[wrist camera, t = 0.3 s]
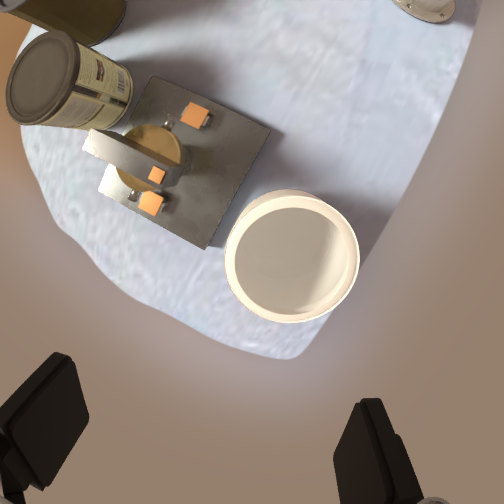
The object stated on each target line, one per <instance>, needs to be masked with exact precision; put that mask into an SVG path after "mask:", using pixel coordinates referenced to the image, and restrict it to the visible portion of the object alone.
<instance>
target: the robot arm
mask: <svg viewBox="0 0 504 504" xmlns="http://www.w3.org/2000/svg"><path fill="white" fill-rule="evenodd" d="M392 1H393V2H394V3H395V4H397V5H398V6H399V7H400V8H401V9H403V10H404V11H406V12H407V13H409V14H410V15H412V16H414V17H416V18H418V19H421V20H424V21H427V22H433V23H439V22H443V21H446V20H447V19H449V18H450V17H451V16H452V15H453V13H454V11H455V1H454V0H392ZM88 422H89V413H88V410H87V406H86V403H85V400H84V397H83V393H82V389H81V385H80V382H79V378H78V374H77V370H76V366H75V363H74V362H73V361H72V359H71V357H69V356H67V355H64V354H61V353H58V352H54V353H53V354H52V355H51V356H50V357H49V358H48V359H47V360H46V361H45V362H44V363H43V364H42V365H41V366H40V367H39V368H38V369H37V370H36V371H35V372H34V373H33V374H32V375H31V376H30V377H29V378H28V379H27V380H26V381H25V382H24V383H23V384H22V385H21V386H20V387H19V388H18V389H17V390H16V391H15V392H14V393H13V394H12V395H11V396H10V398H9V399H8V400H7V401H6V402H5V403H4V404H3V405H2V406H1V407H0V504H31V503H30V499H29V495H28V490H27V488H28V486H29V485H32V486H33V487H35V488H37V489H39V490H41V491H43V490H44V488H45V487H46V486H49V485H50V484H51V483H52V481H53V480H54V478H55V476H56V475H57V473H58V471H59V469H60V468H61V466H62V464H63V463H64V461H65V460H66V458H67V456H68V455H69V453H70V451H71V450H72V448H73V446H74V445H75V443H76V442H77V440H78V438H79V437H80V435H81V434H82V432H83V430H84V429H85V427H86V425H87V424H88ZM333 462H334V468H335V473H336V480H337V485H338V492H339V497H340V504H450V503H449V502H447V501H446V500H444V499H442V498H439V497H428V498H425V499H424V496H423V493H422V491H421V488H420V485H419V483H418V480H417V477H416V475H415V472H414V469H413V467H412V464H411V462H410V459H409V457H408V454H407V451H406V449H405V446H404V444H403V442H402V439H401V437H400V436H399V435H398V434H395V432H394V430H393V428H392V425H391V422H390V420H389V417H388V415H387V413H386V410H385V408H384V405H383V403H382V401H381V399H380V398H363V399H362V400H361V401H360V403H356V404H355V406H354V409H353V411H352V413H351V416H350V418H349V420H348V423H347V425H346V427H345V430H344V432H343V434H342V437H341V439H340V441H339V443H338V445H337V447H336V450H335V452H334V456H333Z"/></svg>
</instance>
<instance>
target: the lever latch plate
mask: <svg viewBox="0 0 504 504" xmlns="http://www.w3.org/2000/svg"><path fill="white" fill-rule="evenodd" d="M168 113H169V114H171V115H173V116H175V117H178V119H177V121H176V123H175V124H174V126H173V128H172V130H171V132H173V133H174V134H175V135H176V136H177V137H178V138H179V140H180V141H181V143H182V146H183V149H184V164H183V166H184V167H186V168H185V170H184V172H183V174H182V176H181V178H180V180H179V182H178V184H177V186H174V187H170V188H165V189H161V190H158V189H157V190H153V191H147V192H141V194H140V196H139V199H138V201H137V202H132V201H130V200H129V199H128V196H129V194H130V192H131V188H129V187H128V186H127V185H125V184H124V183H123V181H122V180H121V179H120V177H119V175H118V173H117V170H116V167H115V166H113V165H111V164H110V163H109V165H108V167H107V170H106V172H105V174H104V177H103V179H102V182H101V184H100V187H99V190H98V191H100V192H101V193H103V194H105V195H107V196H108V197H110V198H112V199H114V200H115V201H117V202H119V203H121V204H122V205H124V206H126V207H128V208H129V209H131V210H133V211H135V212H136V213H138V214H140V215H142V216H143V217H145V218H147V219H149V220H151V221H152V222H154V223H156V224H158V225H160V226H161V227H163V228H165V229H167V230H169V231H170V232H172V233H174V234H176V235H178V236H179V237H181V238H183V239H185V240H187V241H188V242H190V243H192V244H194V245H196V246H197V247H199V248H201V249H203V250H205V249H206V248H207V246H208V245H209V243H210V241H211V239H212V237H213V235H214V233H215V231H216V229H217V227H218V226H219V224H220V222H221V220H222V218H223V216H224V214H225V212H226V211H227V209H228V207H229V205H230V203H231V201H232V200H233V198H234V196H235V194H236V192H237V190H238V189H239V187H240V185H241V183H242V181H243V180H244V178H245V176H246V174H247V172H248V171H249V169H250V167H251V165H252V163H253V162H254V160H255V158H256V156H257V155H258V153H259V151H260V149H261V147H262V146H263V144H264V142H265V140H266V139H267V137H268V135H269V134H270V130H269V129H267V128H265V127H263V126H261V125H260V124H258V123H256V122H254V121H252V120H250V119H248V118H246V117H244V116H242V115H240V114H238V113H236V112H234V111H232V110H230V109H228V108H226V107H224V106H221V105H219V104H217V103H215V102H213V101H211V100H209V99H206V98H204V97H202V96H200V95H198V94H195V93H193V92H191V91H189V90H186V89H184V88H182V87H179V86H177V85H174V84H172V83H170V82H167V81H165V80H162V79H160V78H157V77H155V76H153V77H152V78H151V80H150V82H149V84H148V85H147V87H146V89H145V91H144V93H143V94H142V96H141V98H140V100H139V102H138V104H137V106H136V108H135V109H134V111H133V113H132V115H131V117H130V119H129V121H128V123H127V125H126V127H125V130H124V132H123V134H122V135H123V136H124V135H125V134H126V133H127V132H128V131H130V130H131V129H133V128H135V127H137V126H140V125H144V124H152V125H156V126H159V127H161V126H162V125H163V123H164V121H165V119H166V117H167V115H168Z"/></svg>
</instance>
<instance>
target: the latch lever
mask: <svg viewBox="0 0 504 504" xmlns="http://www.w3.org/2000/svg"><path fill="white" fill-rule="evenodd" d="M177 119H178V117H175V116H173V115H171V114H169V113H168V115H167V117H166V119H165V121H164V123H163V125H162V126H161V127H159V126H156V125H152V124H144V125H140V126H137V127H135V128H133V129H131V130H130V131H128V132H127V133H126V134H125V135H124V136H123V135H121V134H119V133H116V132H112V131H106V130H100V129H94V128H91V129H90V132H89V134H88V136H87V138H86V141H85V143H84V146H83V148H82V149H83V150H85V151H87V152H89V153H91V154H93V155H95V156H96V157H98V158H100V159H102V160H104V161H106V162H108V163H110V164H111V165H113V166H115V167H116V170H117V173H118V175H119V177H120V179H121V180H122V181H123V183H124V184H125V185H127V186H128V187H129V188H131V192H130V194H129V196H128V199H129V200H130V201H132V202H137V201H138V199H139V196H140V194H141V192H147V191H153V190H157V189H158V190H161V189H165V188H170V187H174V186H177V184H178V182H179V180H180V178H181V176H182V174H183V172H184V170H185V168H186V167H184V166H183V164H184V149H183V146H182V143H181V141H180V140H179V138H178V137H177V136H176V135H175V134H174V133H173V132H171V130H172V128H173V126H174V124H175V123H176V121H177Z"/></svg>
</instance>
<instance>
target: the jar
mask: <svg viewBox="0 0 504 504" xmlns="http://www.w3.org/2000/svg"><path fill="white" fill-rule="evenodd" d="M359 261H360V254H359V246H358V242H357V239H356V236H355V233H354V231H353V229H352V228H351V226H350V224H349V223H348V221H347V220H346V219H345V218H344V217H343V216H342V215H341V214H340V213H339V212H338V211H337V210H336V209H334V208H333V207H331V206H330V205H328V204H326V203H325V202H323V201H322V200H321V199H319V198H318V197H316V196H314V195H312V194H309V193H307V192H304V191H300V190H293V189H282V190H276V191H272V192H269V193H266V194H264V195H262V196H260V197H258V198H257V199H255V200H254V201H252V202H251V203H250V204H249V205H248V206H247V207H246V208H245V209H244V210H243V212H242V213H241V214H240V216H239V218H238V219H237V221H236V223H235V226H234V227H233V229H232V231H231V232H230V235H229V237H228V240H227V243H226V247H225V253H224V268H225V274H226V278H227V281H228V284H229V286H230V288H231V290H232V292H233V293H234V295H235V296H236V298H237V299H238V300H239V301H240V302H241V303H242V304H243V305H244V306H245V307H246V308H247V309H249V310H250V311H251V312H253V313H255V314H256V315H258V316H260V317H263V318H265V319H268V320H271V321H275V322H281V323H299V322H305V321H309V320H312V319H315V318H318V317H320V316H322V315H324V314H326V313H328V312H329V311H331V310H332V309H333V308H335V307H336V306H337V305H338V304H339V303H340V302H341V301H342V300H343V299H344V298H345V297H346V296H347V294H348V293H349V291H350V290H351V288H352V286H353V284H354V282H355V279H356V277H357V273H358V269H359Z"/></svg>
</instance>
